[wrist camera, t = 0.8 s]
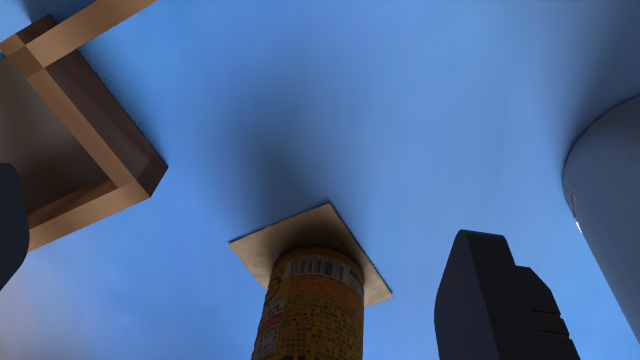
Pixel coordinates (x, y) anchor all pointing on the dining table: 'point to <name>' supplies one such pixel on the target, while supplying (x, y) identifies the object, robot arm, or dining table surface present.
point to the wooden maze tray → (70, 126)
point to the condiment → (310, 287)
